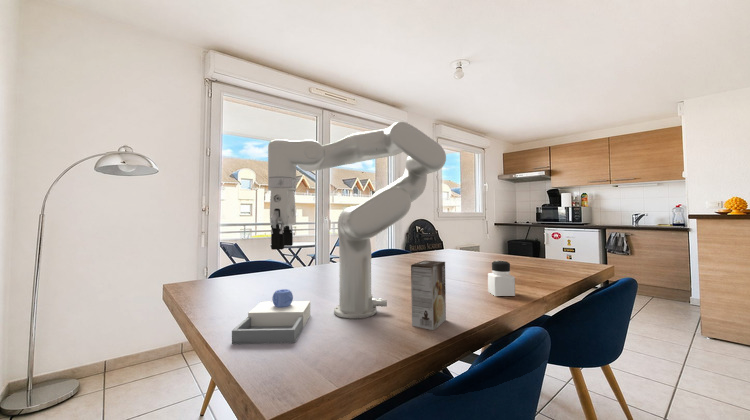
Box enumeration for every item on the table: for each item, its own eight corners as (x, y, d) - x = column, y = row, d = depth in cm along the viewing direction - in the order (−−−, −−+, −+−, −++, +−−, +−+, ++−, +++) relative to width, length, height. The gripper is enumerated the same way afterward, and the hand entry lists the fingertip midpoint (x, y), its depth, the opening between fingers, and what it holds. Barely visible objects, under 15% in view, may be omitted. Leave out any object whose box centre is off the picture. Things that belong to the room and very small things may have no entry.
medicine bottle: (515, 297, 106) (515, 262, 107) (495, 297, 107) (494, 262, 107) (507, 292, 114) (506, 259, 114) (487, 292, 114) (487, 259, 114)
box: (303, 327, 78) (303, 316, 78) (294, 343, 69) (294, 329, 69) (247, 328, 78) (247, 316, 78) (231, 344, 68) (231, 330, 68)
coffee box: (424, 316, 87) (424, 259, 87) (446, 320, 83) (446, 261, 84) (410, 326, 79) (410, 264, 79) (434, 331, 76) (433, 266, 76)
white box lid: (310, 314, 88) (310, 301, 88) (303, 327, 78) (303, 311, 78) (261, 315, 88) (261, 301, 88) (248, 328, 78) (248, 312, 78)
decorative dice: (293, 305, 84) (293, 290, 85) (280, 308, 81) (280, 293, 81) (284, 302, 87) (284, 288, 87) (272, 305, 84) (272, 291, 84)
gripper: (287, 181, 76) (288, 251, 76) (302, 188, 94) (302, 244, 93) (257, 182, 76) (257, 251, 76) (277, 188, 93) (277, 244, 93)
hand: (282, 247), depth 84 cm, fingers open, 8 cm apart
